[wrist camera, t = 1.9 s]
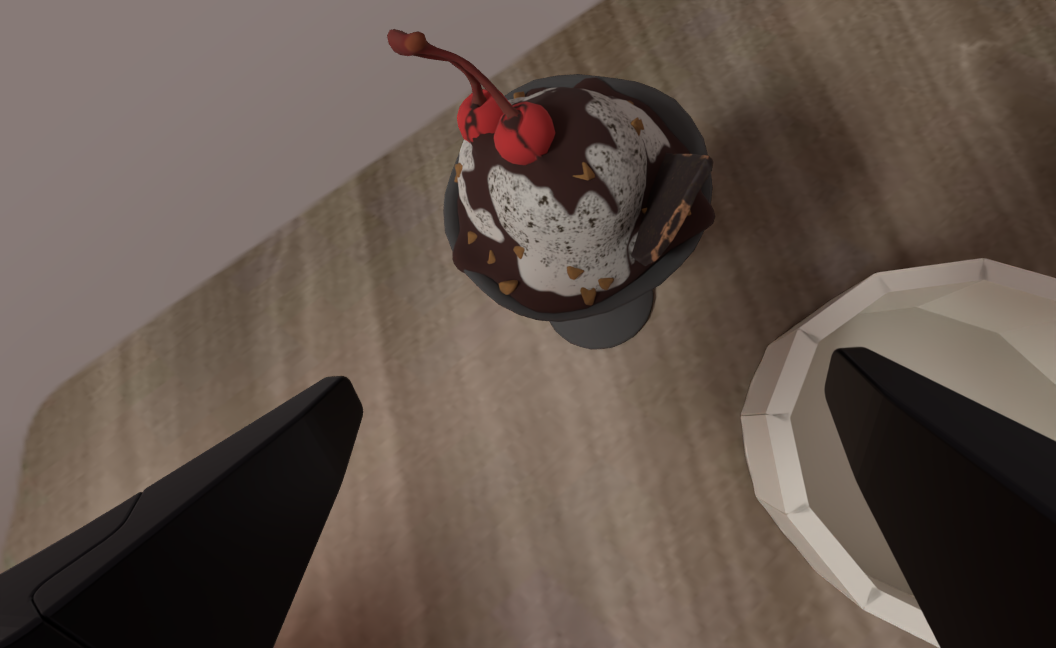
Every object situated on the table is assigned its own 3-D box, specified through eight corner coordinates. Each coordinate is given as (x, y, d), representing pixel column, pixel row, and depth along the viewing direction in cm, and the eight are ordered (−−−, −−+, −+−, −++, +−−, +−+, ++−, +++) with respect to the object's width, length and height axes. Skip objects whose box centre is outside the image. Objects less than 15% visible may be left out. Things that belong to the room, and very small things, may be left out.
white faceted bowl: (1138, 364, 16) (1296, 345, 12) (1043, 682, 15) (1186, 771, 11) (799, 258, 19) (840, 217, 15) (699, 512, 18) (717, 536, 14)
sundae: (502, 273, 22) (267, -3, 8) (626, 204, 21) (618, -234, 7) (564, 395, 20) (404, 328, 6) (701, 324, 20) (896, 55, 5)
